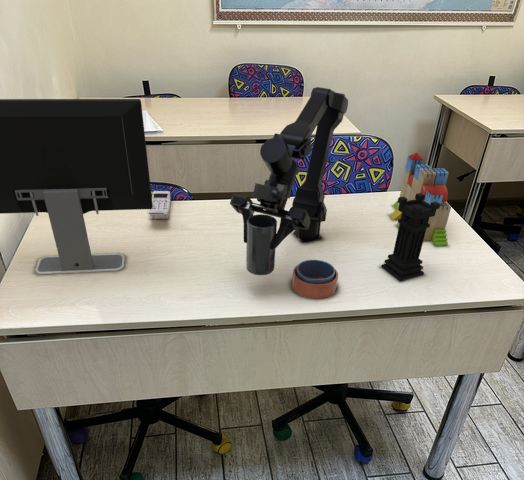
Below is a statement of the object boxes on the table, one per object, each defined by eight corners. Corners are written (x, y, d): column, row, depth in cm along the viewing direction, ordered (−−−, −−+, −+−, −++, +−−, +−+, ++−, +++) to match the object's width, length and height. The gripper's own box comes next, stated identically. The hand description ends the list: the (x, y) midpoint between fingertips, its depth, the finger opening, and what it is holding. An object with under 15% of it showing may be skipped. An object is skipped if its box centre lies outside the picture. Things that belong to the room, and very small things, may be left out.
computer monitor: (158, 253, 141) (141, 96, 115) (158, 268, 134) (139, 106, 109) (2, 259, 135) (-53, 96, 110) (-6, 276, 129) (-66, 107, 103)
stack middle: (320, 273, 135) (322, 256, 132) (340, 291, 129) (342, 274, 126) (288, 280, 132) (289, 264, 129) (307, 300, 125) (309, 283, 122)
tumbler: (266, 258, 127) (268, 212, 119) (279, 271, 122) (282, 224, 114) (241, 264, 125) (242, 217, 117) (253, 277, 120) (254, 230, 112)
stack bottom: (321, 271, 136) (323, 257, 134) (344, 292, 129) (346, 279, 126) (284, 280, 132) (285, 266, 130) (305, 302, 125) (307, 289, 122)
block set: (457, 245, 150) (477, 181, 137) (412, 247, 148) (428, 182, 136) (422, 204, 171) (437, 146, 159) (382, 205, 169) (394, 146, 157)
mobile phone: (145, 212, 146) (151, 178, 165) (147, 231, 150) (153, 195, 169) (167, 212, 147) (170, 178, 166) (168, 231, 151) (171, 195, 170)
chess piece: (399, 281, 134) (417, 210, 121) (381, 267, 139) (396, 197, 126) (423, 274, 137) (442, 204, 124) (404, 261, 142) (420, 191, 129)
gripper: (233, 159, 114) (210, 224, 113) (310, 175, 108) (287, 244, 108) (248, 181, 125) (227, 241, 124) (319, 197, 119) (298, 259, 118)
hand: (258, 245), depth 118 cm, fingers closed on tumbler, 7 cm apart
